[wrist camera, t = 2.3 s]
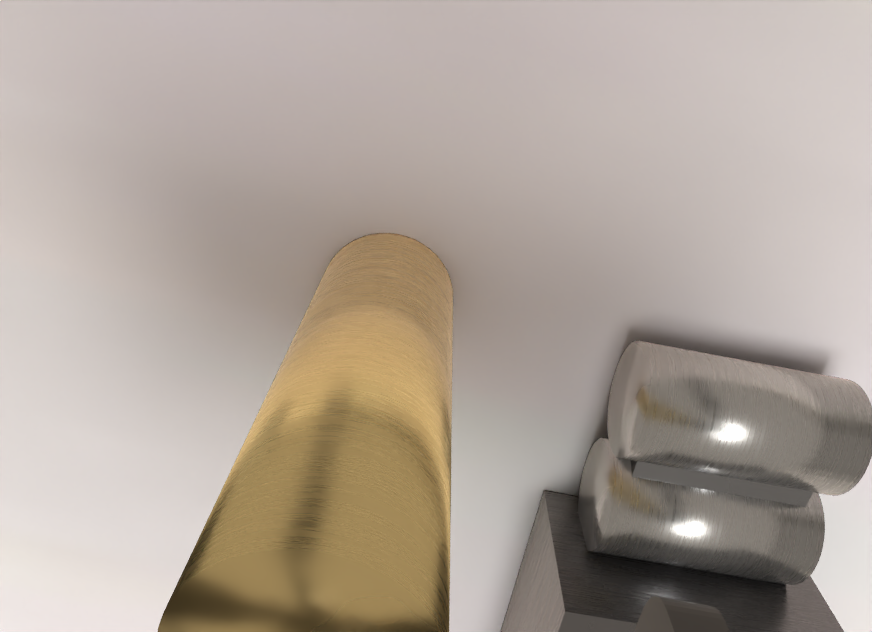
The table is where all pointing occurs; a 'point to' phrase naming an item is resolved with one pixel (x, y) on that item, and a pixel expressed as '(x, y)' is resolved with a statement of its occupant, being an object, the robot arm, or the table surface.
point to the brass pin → (341, 466)
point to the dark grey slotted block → (698, 498)
